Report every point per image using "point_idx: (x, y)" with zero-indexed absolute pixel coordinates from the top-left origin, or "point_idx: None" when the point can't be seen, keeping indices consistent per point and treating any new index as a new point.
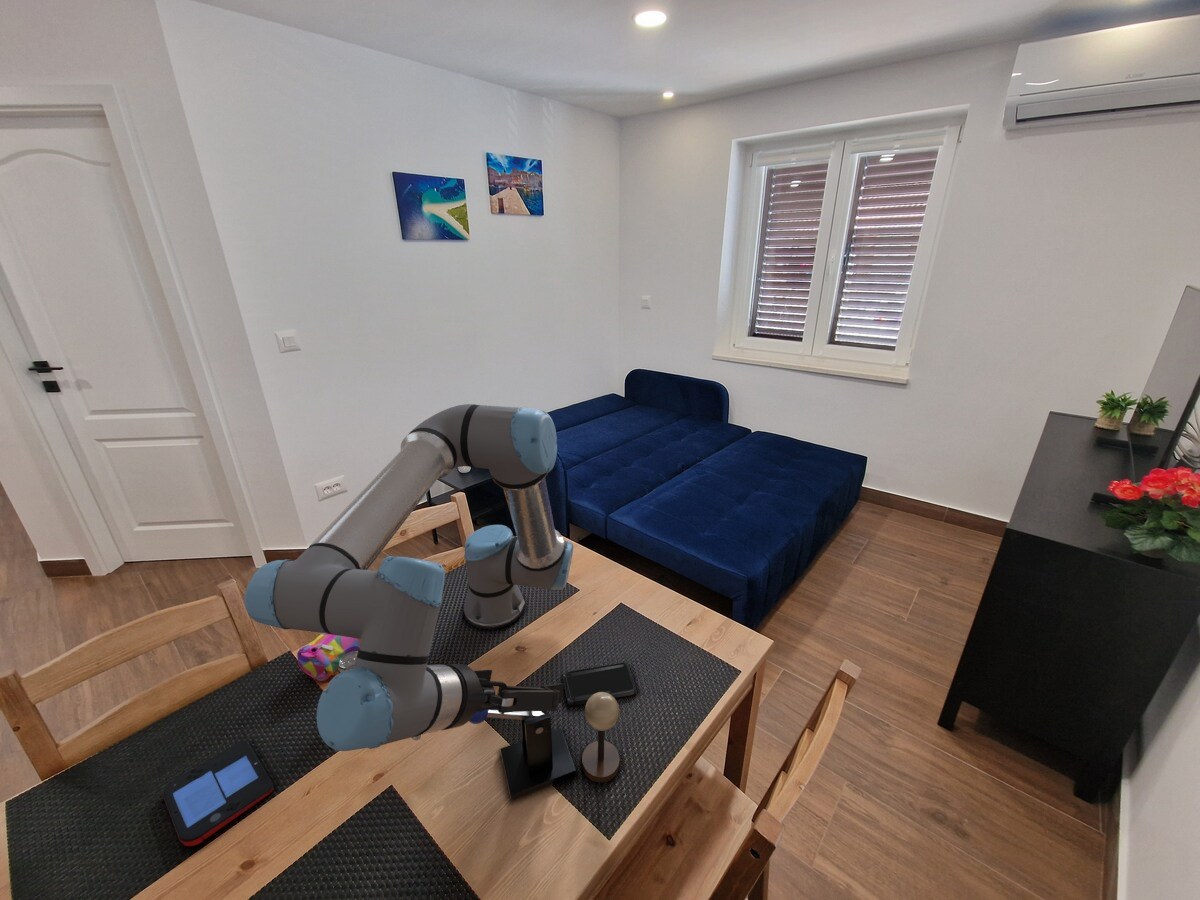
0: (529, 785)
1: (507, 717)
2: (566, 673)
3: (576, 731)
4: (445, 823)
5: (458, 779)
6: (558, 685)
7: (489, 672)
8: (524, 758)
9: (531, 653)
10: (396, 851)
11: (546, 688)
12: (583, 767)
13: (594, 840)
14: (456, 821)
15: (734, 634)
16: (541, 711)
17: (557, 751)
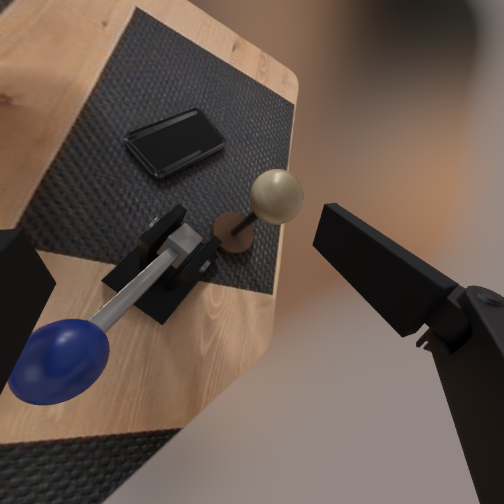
0: (178, 300)
1: (146, 290)
2: (127, 135)
3: None
4: (86, 409)
5: None
6: (359, 221)
7: (17, 247)
8: None
9: (31, 107)
10: (29, 501)
11: (499, 301)
12: (221, 248)
13: (262, 303)
14: (103, 394)
15: (275, 63)
16: (418, 346)
17: None
